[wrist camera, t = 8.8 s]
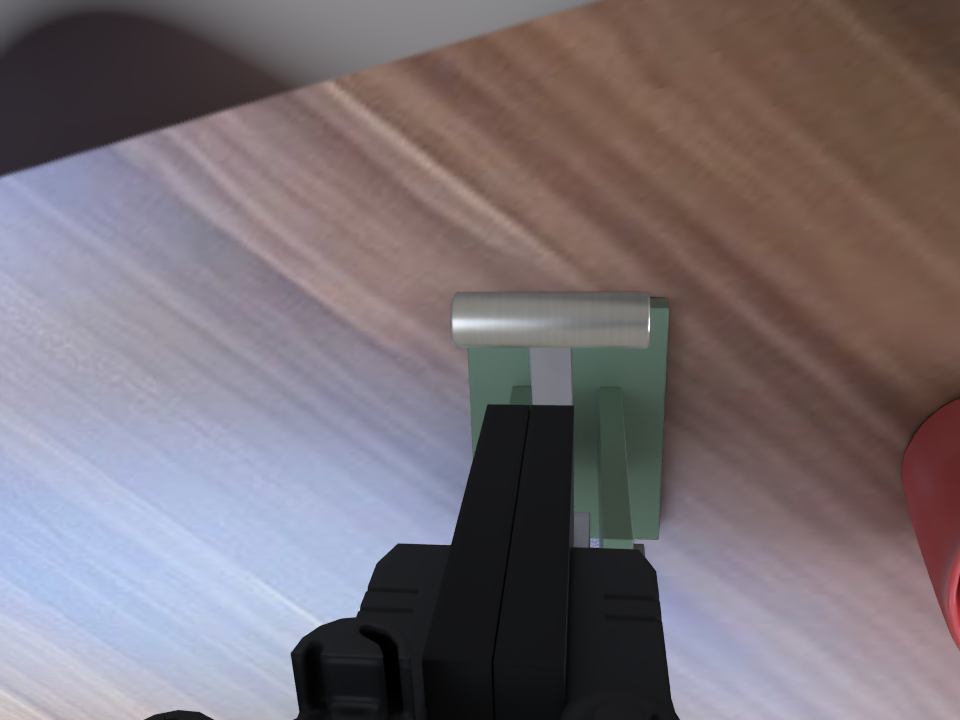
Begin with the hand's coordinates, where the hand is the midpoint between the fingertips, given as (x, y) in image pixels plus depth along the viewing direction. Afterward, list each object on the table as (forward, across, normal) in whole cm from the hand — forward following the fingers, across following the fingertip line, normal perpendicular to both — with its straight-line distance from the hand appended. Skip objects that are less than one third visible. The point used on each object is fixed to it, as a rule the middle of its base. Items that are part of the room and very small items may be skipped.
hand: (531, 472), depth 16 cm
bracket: (+24, 0, -10) cm, 26 cm away
